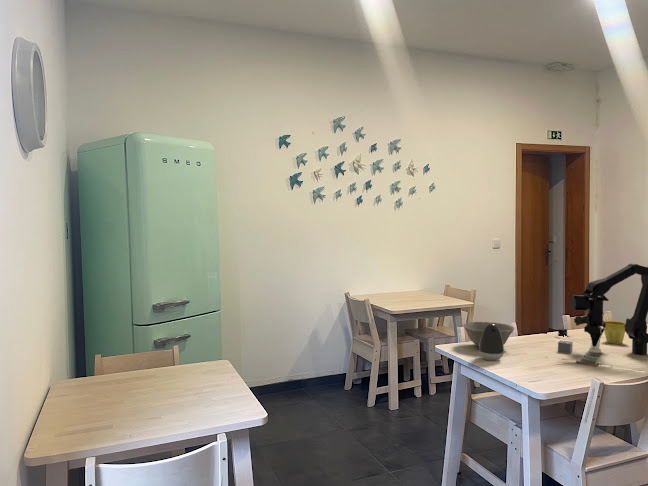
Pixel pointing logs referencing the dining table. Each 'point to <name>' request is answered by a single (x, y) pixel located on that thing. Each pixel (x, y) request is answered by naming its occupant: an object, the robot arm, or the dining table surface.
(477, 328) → the ceramic bowl
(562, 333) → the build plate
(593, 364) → the board
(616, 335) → the plant pot
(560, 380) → the dining table surface
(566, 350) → the grey cube
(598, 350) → the pawn
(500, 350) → the dark grey egg shape
